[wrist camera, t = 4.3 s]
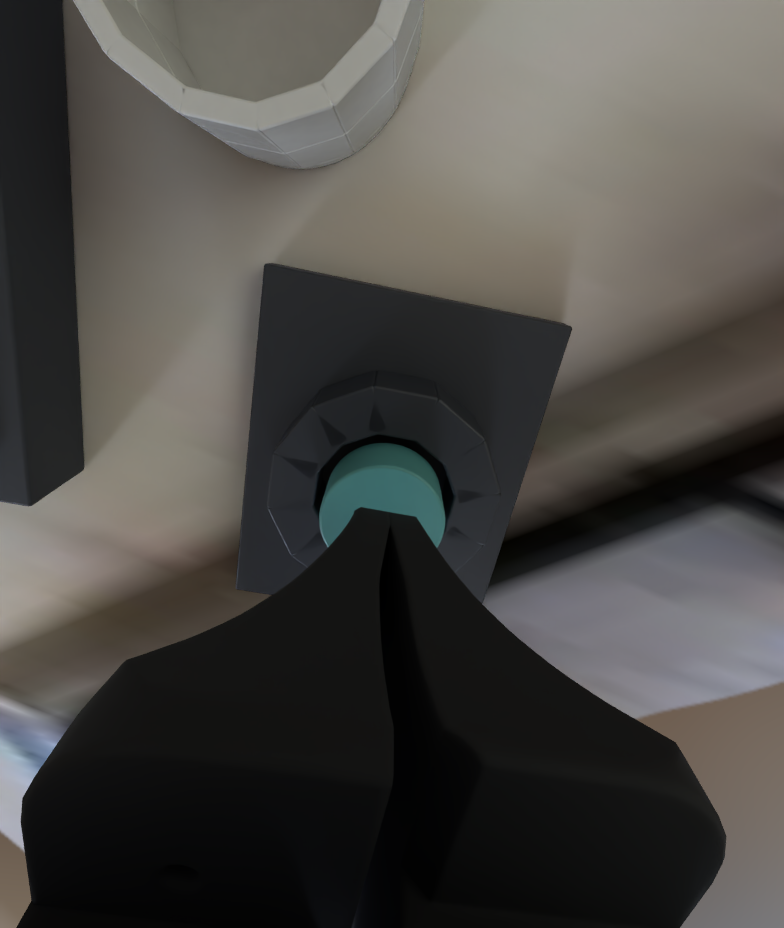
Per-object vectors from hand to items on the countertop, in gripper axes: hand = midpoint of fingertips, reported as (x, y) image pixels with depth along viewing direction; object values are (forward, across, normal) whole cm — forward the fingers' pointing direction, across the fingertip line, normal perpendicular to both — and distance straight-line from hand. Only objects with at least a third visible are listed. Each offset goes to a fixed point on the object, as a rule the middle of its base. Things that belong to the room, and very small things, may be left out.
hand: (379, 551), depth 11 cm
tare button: (+3, 0, 0) cm, 3 cm away
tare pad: (+5, 0, 0) cm, 5 cm away
